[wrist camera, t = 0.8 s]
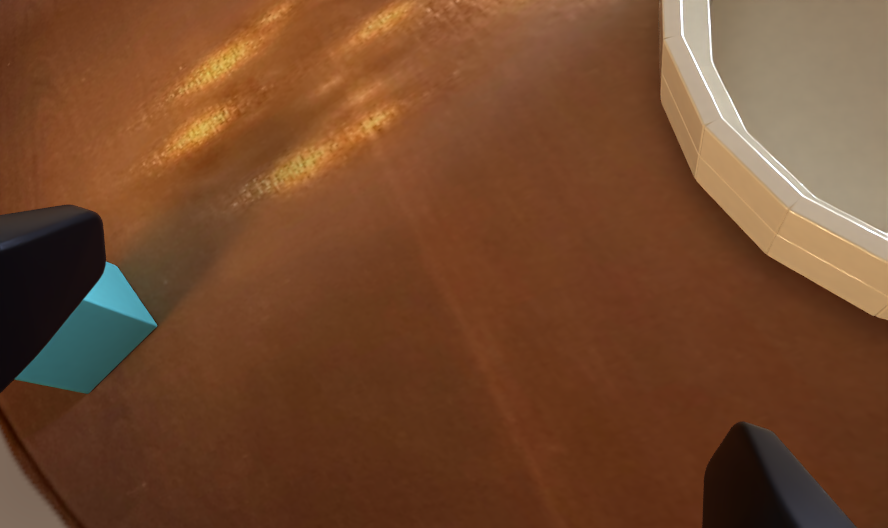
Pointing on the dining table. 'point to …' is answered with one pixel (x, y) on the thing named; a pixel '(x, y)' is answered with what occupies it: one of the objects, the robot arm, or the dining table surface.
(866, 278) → the bowl
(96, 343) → the block
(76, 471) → the dining table surface
